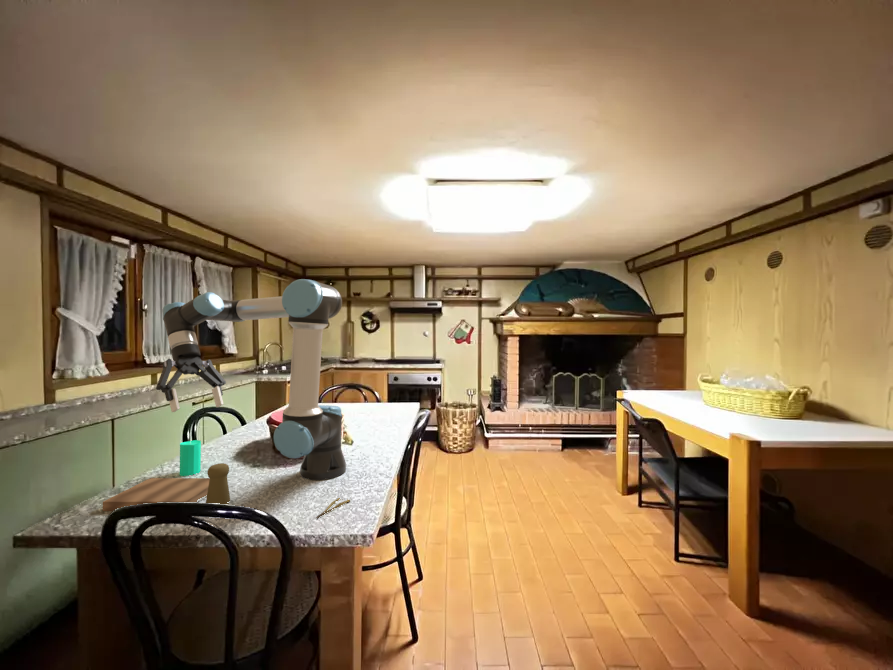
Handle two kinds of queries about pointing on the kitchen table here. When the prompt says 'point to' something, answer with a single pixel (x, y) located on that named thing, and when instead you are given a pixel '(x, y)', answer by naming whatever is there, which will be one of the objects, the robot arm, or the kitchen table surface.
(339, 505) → the tongs
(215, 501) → the cork
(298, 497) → the kitchen table surface
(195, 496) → the walnut board
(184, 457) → the candle
